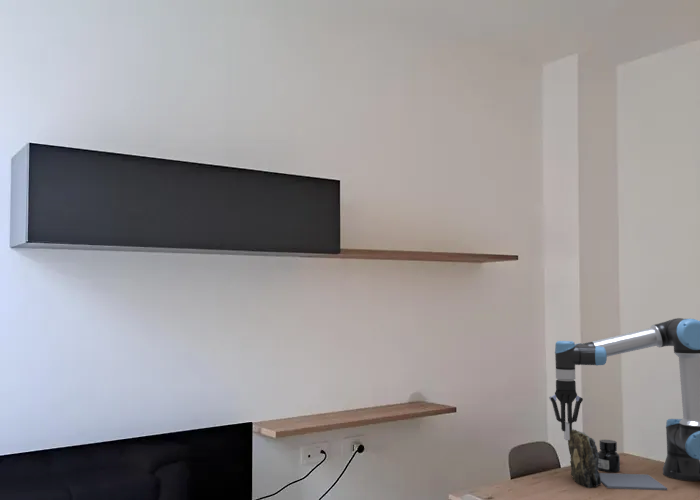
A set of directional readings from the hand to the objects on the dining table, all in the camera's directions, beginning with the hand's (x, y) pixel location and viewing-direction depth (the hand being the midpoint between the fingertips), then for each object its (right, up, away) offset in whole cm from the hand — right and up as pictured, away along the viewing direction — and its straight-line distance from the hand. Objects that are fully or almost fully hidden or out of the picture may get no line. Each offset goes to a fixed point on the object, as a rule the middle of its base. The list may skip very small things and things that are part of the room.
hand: (566, 439), depth 253 cm
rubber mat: (+24, -16, -2) cm, 29 cm away
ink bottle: (+23, -18, +16) cm, 33 cm away
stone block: (+6, -16, -2) cm, 17 cm away
